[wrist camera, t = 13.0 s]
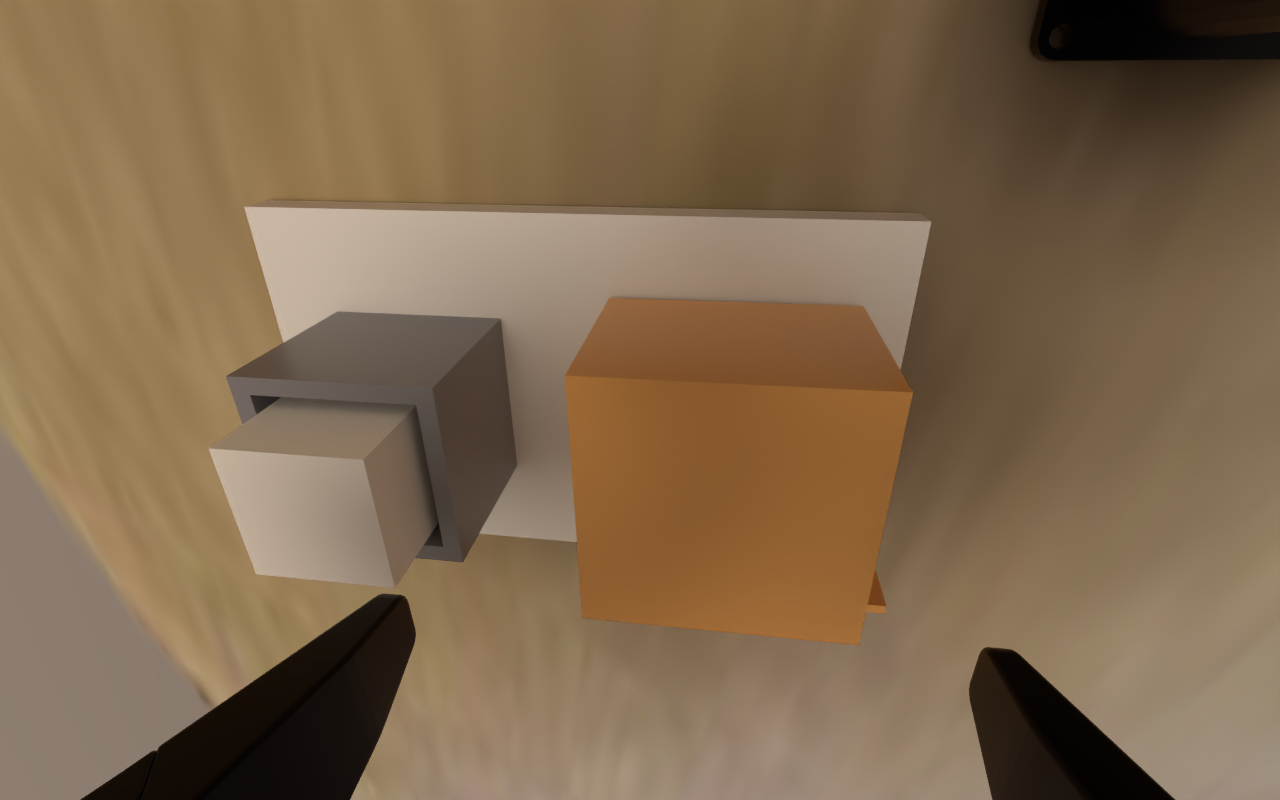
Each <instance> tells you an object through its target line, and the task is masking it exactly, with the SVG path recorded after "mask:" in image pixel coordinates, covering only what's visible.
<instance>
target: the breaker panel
mask: <svg viewBox="0 0 1280 800" xmlns="http://www.w3.org/2000/svg"><path fill="white" fill-rule="evenodd" d="M244 208H245V211H246V215H247V218H248V221H249V225H250V228H251V232H252V235H253V239H254V242H255V246H256V249H257V253H258V256H259V260H260V263H261V266H262V270H263V273H264V277H265V280H266V284H267V287H268V291H269V294H270V298H271V301H272V305H273V308H274V312H275V315H276V318H277V322H278V325H279V329H280V332H281V336H282V339H283V343H282V344H281V345H279V346H277V347H275V348H274V349H272V350H270V351H269V352H267V353H265V354H263V355H262V356H260V357H258V358H257V359H255V360H253V361H251V362H250V363H248V364H246V365H245V366H243V367H241V368H239V369H238V370H236V371H234V372H233V373H231V374H229V375H227V376H226V378H227V380H228V383H229V386H230V389H231V392H232V395H233V398H234V401H235V404H236V407H237V410H238V412H239V415H240V418H241V421H242V424H244V423H245V422H247V421H248V420H250V419H251V418H253V417H254V416H255V415H257V414H258V413H260V412H261V411H263V410H264V409H265V408H267V407H268V406H270V405H271V404H273V403H274V402H275V401H277V400H278V399H280V398H281V397H290V398H306V399H323V400H339V401H355V402H371V403H387V404H404V405H416V407H417V412H418V417H419V422H420V428H421V433H422V438H423V443H424V448H425V454H426V459H427V464H428V469H429V474H430V480H431V485H432V490H433V495H434V500H435V506H436V511H437V516H438V521H439V523H438V524H437V526H436V527H435V529H434V530H433V532H432V533H431V535H430V536H429V538H428V539H427V541H426V542H425V544H424V545H423V547H422V548H421V550H420V551H419V553H418V554H417V556H416V557H415V558H422V559H433V560H444V561H455V562H463V561H464V559H465V558H466V556H467V554H468V552H469V551H470V549H471V547H472V545H473V543H474V542H475V540H476V538H477V536H478V535H479V534H489V535H501V536H512V537H524V538H535V539H547V540H558V541H570V542H577V537H576V523H575V510H574V496H573V482H572V468H571V455H570V441H569V427H568V413H567V400H566V386H565V374H566V373H567V371H568V369H569V367H570V366H571V364H572V362H573V360H574V359H575V357H576V355H577V353H578V352H579V350H580V348H581V346H582V345H583V343H584V341H585V339H586V338H587V336H588V334H589V332H590V331H591V329H592V327H593V325H594V324H595V322H596V320H597V318H598V317H599V315H600V313H601V312H602V310H603V308H604V306H605V305H606V303H607V301H608V299H609V298H630V299H661V300H692V301H722V302H753V303H784V304H815V305H846V306H864V308H865V309H866V311H867V313H868V315H869V316H870V318H871V320H872V322H873V323H874V325H875V327H876V329H877V330H878V332H879V334H880V336H881V337H882V339H883V341H884V343H885V344H886V346H887V348H888V350H889V351H890V353H891V355H892V356H893V358H894V360H895V362H896V363H897V365H898V367H899V369H900V370H901V366H902V361H903V356H904V351H905V347H906V342H907V337H908V332H909V327H910V322H911V318H912V313H913V308H914V303H915V298H916V293H917V289H918V284H919V279H920V274H921V269H922V264H923V260H924V255H925V250H926V245H927V240H928V236H929V231H930V226H931V221H930V220H928V219H927V218H926V217H924V216H923V215H921V214H920V213H891V212H841V211H791V210H741V209H691V208H641V207H591V206H541V205H491V204H441V203H391V202H341V201H291V200H269V201H265V202H261V203H257V204H253V205H249V206H245V207H244ZM885 609H886V604H885V601H884V597H883V594H882V590H881V587H880V583H879V580H878V576H877V573H876V569H875V573H874V577H873V582H872V587H871V591H870V596H869V601H868V605H867V610H866V612H872V613H883V614H884V613H885Z"/></svg>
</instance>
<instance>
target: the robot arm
mask: <svg viewBox="0 0 1280 800" xmlns="http://www.w3.org/2000/svg"><path fill="white" fill-rule="evenodd" d="M1057 26H1060V27H1062V28H1063V30H1064V31H1065V38H1064V40H1063V42H1062V44H1061V45H1060V46H1058V47H1057V48H1056V49H1055V48H1052V47H1051V45H1050V44H1049V36H1050V34H1051V32H1052V30H1054V29H1055V28H1056V27H1057ZM1031 49H1032V52H1033V54H1034V55H1035V56H1036V57H1037V58H1038V59H1040V60H1044V61H1123V60H1245V59H1280V0H1041V1H1040V5H1039V9H1038V13H1037V17H1036V21H1035V25H1034V30H1033V34H1032V38H1031ZM415 637H416V631H415V626H414V622H413V619H412V615H411V611H410V607H409V603H408V600H407V599H406V598H405V597H404V596H402V595H394V594H380V595H378V596H376V597H375V598H373V599H372V600H370V601H369V602H367V603H366V604H364V605H363V606H362V607H360V608H359V609H357V610H356V611H354V612H353V613H351V614H350V615H349V616H347V617H346V618H344V619H343V620H341V621H340V622H338V623H337V624H336V625H334V626H333V627H331V628H330V629H328V630H327V631H325V632H324V633H323V634H321V635H320V636H318V637H317V638H315V639H314V640H312V641H311V642H309V643H308V644H307V645H305V646H304V647H302V648H301V649H299V650H298V651H296V652H295V653H294V654H292V655H291V656H289V657H288V658H286V659H285V660H283V661H282V662H281V663H279V664H278V665H276V666H275V667H273V668H272V669H270V670H269V671H268V672H266V673H265V674H263V675H262V676H260V677H259V678H257V679H256V680H255V681H253V682H252V683H250V684H249V685H247V686H246V687H244V688H243V689H242V690H240V691H239V692H237V693H236V694H234V695H233V696H231V697H230V698H229V699H227V700H226V701H224V702H223V703H221V704H220V705H218V706H217V707H216V708H214V709H213V710H211V711H210V712H208V713H207V714H205V715H204V716H203V717H201V718H200V719H198V720H197V721H195V722H194V723H192V724H191V725H189V726H188V727H187V728H185V729H184V730H182V731H181V732H180V733H178V734H177V735H175V736H174V737H172V738H171V739H169V740H168V741H167V742H165V743H163V744H162V745H161V746H160V747H159V748H158V750H157V751H152V752H150V753H149V754H147V755H146V756H144V757H143V758H141V759H140V760H139V761H137V762H136V763H134V764H133V765H131V766H130V767H129V768H127V769H126V770H124V771H123V772H121V773H120V774H118V775H117V776H115V777H114V778H112V779H111V780H109V781H108V782H106V783H105V784H103V785H102V786H100V787H99V788H97V789H96V790H94V791H93V792H91V793H90V794H88V795H87V796H85V797H84V798H82V799H81V800H350V799H351V796H352V794H353V792H354V790H355V788H356V786H357V784H358V782H359V780H360V778H361V776H362V774H363V772H364V770H365V767H366V765H367V763H368V761H369V759H370V757H371V755H372V753H373V751H374V749H375V746H376V744H377V742H378V740H379V738H380V735H381V733H382V730H383V728H384V725H385V723H386V720H387V718H388V715H389V712H390V709H391V707H392V704H393V701H394V698H395V696H396V693H397V690H398V687H399V685H400V682H401V679H402V677H403V674H404V671H405V668H406V666H407V663H408V660H409V657H410V655H411V652H412V649H413V646H414V643H415ZM969 696H970V703H971V707H972V712H973V716H974V721H975V725H976V729H977V734H978V738H979V743H980V747H981V752H982V756H983V761H984V765H985V769H986V774H987V778H988V783H989V787H990V792H991V796H992V800H1175V799H1174V798H1173V797H1172V796H1171V795H1170V794H1168V793H1167V792H1166V791H1165V790H1164V789H1163V788H1162V787H1161V786H1160V785H1159V784H1158V783H1157V782H1156V781H1155V780H1153V779H1152V778H1151V777H1150V776H1149V775H1148V774H1147V773H1146V772H1145V771H1144V770H1143V769H1142V768H1141V767H1140V766H1138V765H1137V764H1136V763H1135V762H1134V761H1133V760H1132V759H1131V758H1130V757H1129V756H1128V755H1127V754H1126V753H1125V752H1123V751H1122V750H1121V749H1120V748H1119V747H1118V746H1117V745H1116V744H1115V743H1114V742H1113V741H1112V740H1111V739H1110V738H1108V737H1107V736H1106V735H1105V734H1104V733H1103V732H1102V731H1101V730H1100V729H1099V728H1098V727H1097V726H1096V725H1095V724H1093V723H1092V722H1091V721H1090V720H1089V719H1088V718H1087V717H1086V716H1085V715H1084V714H1083V713H1082V712H1081V711H1080V710H1078V709H1077V708H1076V707H1075V706H1074V705H1073V704H1072V703H1071V702H1070V701H1069V700H1068V699H1067V698H1066V697H1064V696H1063V695H1062V694H1061V693H1060V692H1059V691H1058V690H1057V689H1056V688H1055V687H1054V686H1053V685H1052V684H1051V683H1049V682H1048V681H1047V680H1046V679H1045V678H1044V677H1043V676H1042V675H1041V674H1040V673H1039V672H1038V671H1037V670H1036V669H1034V668H1033V667H1032V666H1031V665H1030V664H1029V663H1028V662H1027V661H1026V660H1025V659H1024V658H1023V657H1022V656H1021V655H1019V654H1018V653H1017V652H1015V651H1013V650H1010V649H1002V648H991V647H987V648H984V649H983V650H982V651H981V652H980V654H979V657H978V660H977V663H976V666H975V669H974V673H973V676H972V679H971V682H970V687H969Z"/></svg>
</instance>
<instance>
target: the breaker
mask: <svg viewBox="0 0 1280 800" xmlns="http://www.w3.org/2000/svg"><path fill="white" fill-rule="evenodd" d="M208 449H209V451H210V454H211V457H212V459H213V462H214V465H215V467H216V470H217V472H218V475H219V478H220V480H221V483H222V486H223V488H224V491H225V494H226V496H227V499H228V501H229V504H230V507H231V509H232V512H233V515H234V517H235V520H236V522H237V525H238V528H239V530H240V533H241V536H242V538H243V541H244V543H245V546H246V549H247V551H248V554H249V557H250V559H251V562H252V564H253V567H254V570H255V572H256V574H261V575H271V576H281V577H291V578H301V579H311V580H321V581H331V582H341V583H351V584H361V585H371V586H381V587H391V588H395V587H396V586H397V584H398V583H399V581H400V580H401V578H402V577H403V575H404V574H405V572H406V571H407V569H408V568H409V566H410V565H411V563H412V562H413V560H414V559H415V557H416V556H417V554H418V553H419V551H420V550H421V548H422V547H423V545H424V544H425V542H426V541H427V539H428V538H429V536H430V535H431V533H432V532H433V530H434V529H435V527H436V526H437V524H438V523H439V521H438V516H437V511H436V506H435V500H434V495H433V490H432V485H431V480H430V474H429V469H428V464H427V459H426V454H425V448H424V443H423V438H422V433H421V428H420V422H419V417H418V412H417V407H416V405H404V404H387V403H371V402H355V401H339V400H323V399H306V398H290V397H281V398H280V399H278V400H277V401H275V402H274V403H273V404H271V405H270V406H268V407H267V408H265V409H264V410H263V411H261V412H260V413H258V414H257V415H255V416H254V417H253V418H251V419H250V420H248V421H247V422H245V423H244V424H243V425H241V426H240V427H238V428H237V429H235V430H234V431H233V432H231V433H230V434H228V435H227V436H225V437H224V438H223V439H221V440H220V441H218V442H217V443H215V444H214V445H213V446H211V447H210V448H208Z"/></svg>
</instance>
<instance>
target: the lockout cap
mask: <svg viewBox="0 0 1280 800" xmlns="http://www.w3.org/2000/svg"><path fill="white" fill-rule="evenodd" d="M565 386H566V400H567V413H568V427H569V441H570V455H571V468H572V482H573V496H574V510H575V523H576V537H577V551H578V565H579V578H580V592H581V606H582V618H587V619H597V620H608V621H618V622H628V623H638V624H648V625H659V626H669V627H679V628H689V629H700V630H710V631H720V632H730V633H740V634H751V635H761V636H771V637H781V638H791V639H802V640H812V641H822V642H832V643H843V644H853V645H859V643H860V638H861V633H862V629H863V624H864V619H865V615H866V610H867V605H868V601H869V596H870V591H871V587H872V582H873V577H874V573H875V568H876V563H877V559H878V554H879V549H880V545H881V540H882V535H883V531H884V526H885V521H886V517H887V512H888V507H889V503H890V498H891V493H892V489H893V484H894V479H895V475H896V470H897V465H898V461H899V456H900V451H901V447H902V442H903V437H904V433H905V428H906V423H907V419H908V414H909V409H910V405H911V400H912V395H913V391H912V390H911V388H910V386H909V384H908V383H907V381H906V379H905V377H904V376H903V374H902V372H901V370H900V369H899V367H898V365H897V363H896V362H895V360H894V358H893V356H892V355H891V353H890V351H889V350H888V348H887V346H886V344H885V343H884V341H883V339H882V337H881V336H880V334H879V332H878V330H877V329H876V327H875V325H874V323H873V322H872V320H871V318H870V316H869V315H868V313H867V311H866V309H865V308H864V306H846V305H815V304H784V303H753V302H722V301H692V300H661V299H630V298H609V299H608V301H607V303H606V305H605V306H604V308H603V310H602V312H601V313H600V315H599V317H598V318H597V320H596V322H595V324H594V325H593V327H592V329H591V331H590V332H589V334H588V336H587V338H586V339H585V341H584V343H583V345H582V346H581V348H580V350H579V352H578V353H577V355H576V357H575V359H574V360H573V362H572V364H571V366H570V367H569V369H568V371H567V373H566V374H565Z"/></svg>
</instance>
